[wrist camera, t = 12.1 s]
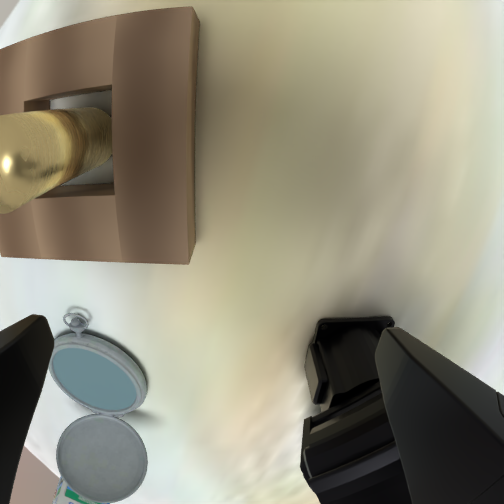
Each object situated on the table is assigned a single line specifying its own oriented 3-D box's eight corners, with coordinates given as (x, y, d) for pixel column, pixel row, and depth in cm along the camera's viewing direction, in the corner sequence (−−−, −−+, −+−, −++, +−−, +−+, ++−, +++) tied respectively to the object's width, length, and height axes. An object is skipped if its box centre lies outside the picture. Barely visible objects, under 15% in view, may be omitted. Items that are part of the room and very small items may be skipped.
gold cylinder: (116, 104, 16) (30, 106, 8) (117, 167, 18) (38, 212, 10) (62, 111, 16) (-35, 125, 8) (64, 170, 18) (-25, 215, 10)
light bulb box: (76, 437, 31) (54, 503, 21) (122, 458, 33) (107, 525, 23) (65, 459, 35) (48, 513, 25) (103, 476, 36) (91, 531, 27)
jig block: (199, 21, 15) (192, 6, 12) (195, 243, 20) (188, 264, 18) (10, 58, 14) (-16, 56, 11) (22, 240, 20) (1, 256, 17)
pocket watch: (49, 488, 19) (-35, 388, 12) (77, 410, 28) (31, 301, 22) (145, 514, 19) (86, 428, 13) (161, 424, 29) (134, 311, 23)
